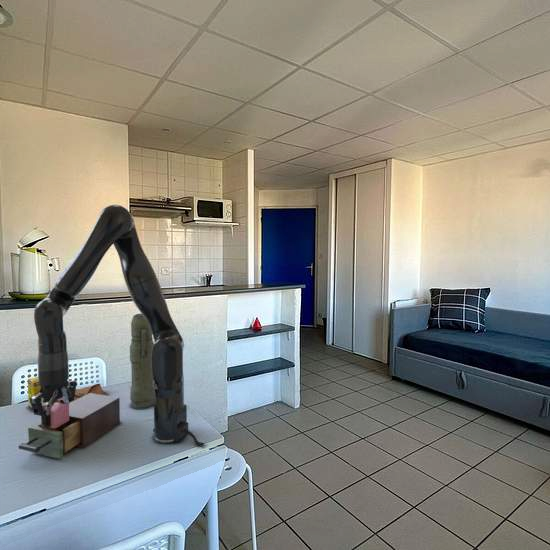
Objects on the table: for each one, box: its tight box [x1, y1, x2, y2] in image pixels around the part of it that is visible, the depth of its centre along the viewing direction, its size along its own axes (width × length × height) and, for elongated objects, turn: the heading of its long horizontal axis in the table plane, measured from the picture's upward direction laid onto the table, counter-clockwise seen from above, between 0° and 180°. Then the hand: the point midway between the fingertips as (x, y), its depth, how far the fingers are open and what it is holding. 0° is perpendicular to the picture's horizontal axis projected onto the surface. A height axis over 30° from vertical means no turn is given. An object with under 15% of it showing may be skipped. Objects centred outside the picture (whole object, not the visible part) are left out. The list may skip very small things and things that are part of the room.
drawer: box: [18, 419, 81, 459], centre depth 104 cm, size 19×11×7 cm, turn 163°
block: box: [40, 402, 69, 429], centre depth 103 cm, size 5×5×5 cm
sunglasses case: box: [54, 383, 108, 403], centre depth 138 cm, size 18×7×7 cm, turn 137°
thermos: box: [129, 313, 155, 410], centre depth 134 cm, size 9×12×35 cm
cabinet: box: [69, 393, 121, 449], centre depth 114 cm, size 16×13×9 cm
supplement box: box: [27, 376, 49, 411], centre depth 132 cm, size 6×6×11 cm
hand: (55, 421), depth 103 cm, fingers closed on block, 5 cm apart
